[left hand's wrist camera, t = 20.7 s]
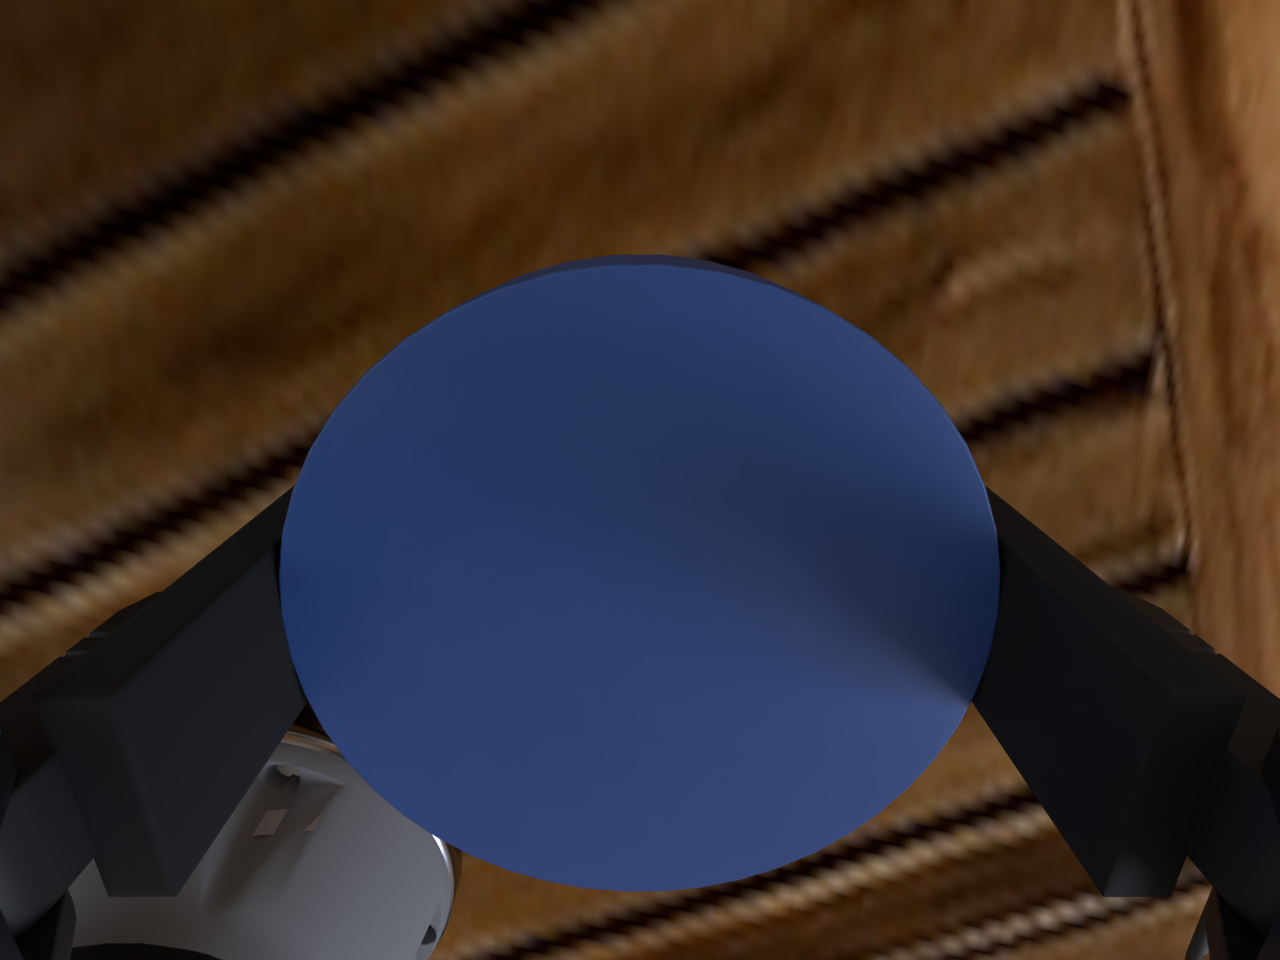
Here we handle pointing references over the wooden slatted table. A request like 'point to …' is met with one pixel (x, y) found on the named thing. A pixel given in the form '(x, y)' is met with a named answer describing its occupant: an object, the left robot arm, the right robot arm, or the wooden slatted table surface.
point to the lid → (639, 575)
